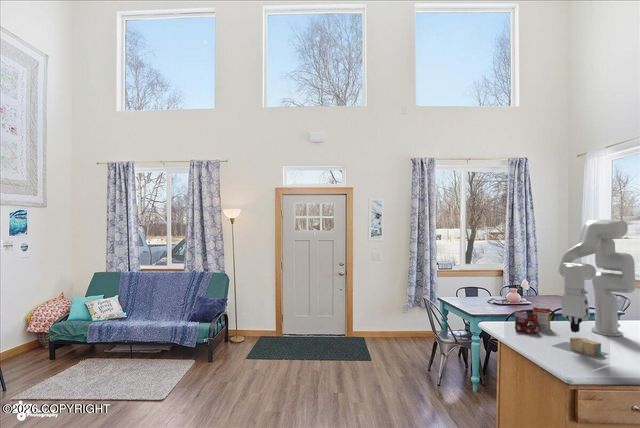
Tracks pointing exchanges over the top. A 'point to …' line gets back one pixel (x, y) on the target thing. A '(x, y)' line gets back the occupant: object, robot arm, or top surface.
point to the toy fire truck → (526, 323)
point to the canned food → (542, 316)
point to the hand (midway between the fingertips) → (575, 331)
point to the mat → (567, 347)
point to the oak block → (585, 345)
